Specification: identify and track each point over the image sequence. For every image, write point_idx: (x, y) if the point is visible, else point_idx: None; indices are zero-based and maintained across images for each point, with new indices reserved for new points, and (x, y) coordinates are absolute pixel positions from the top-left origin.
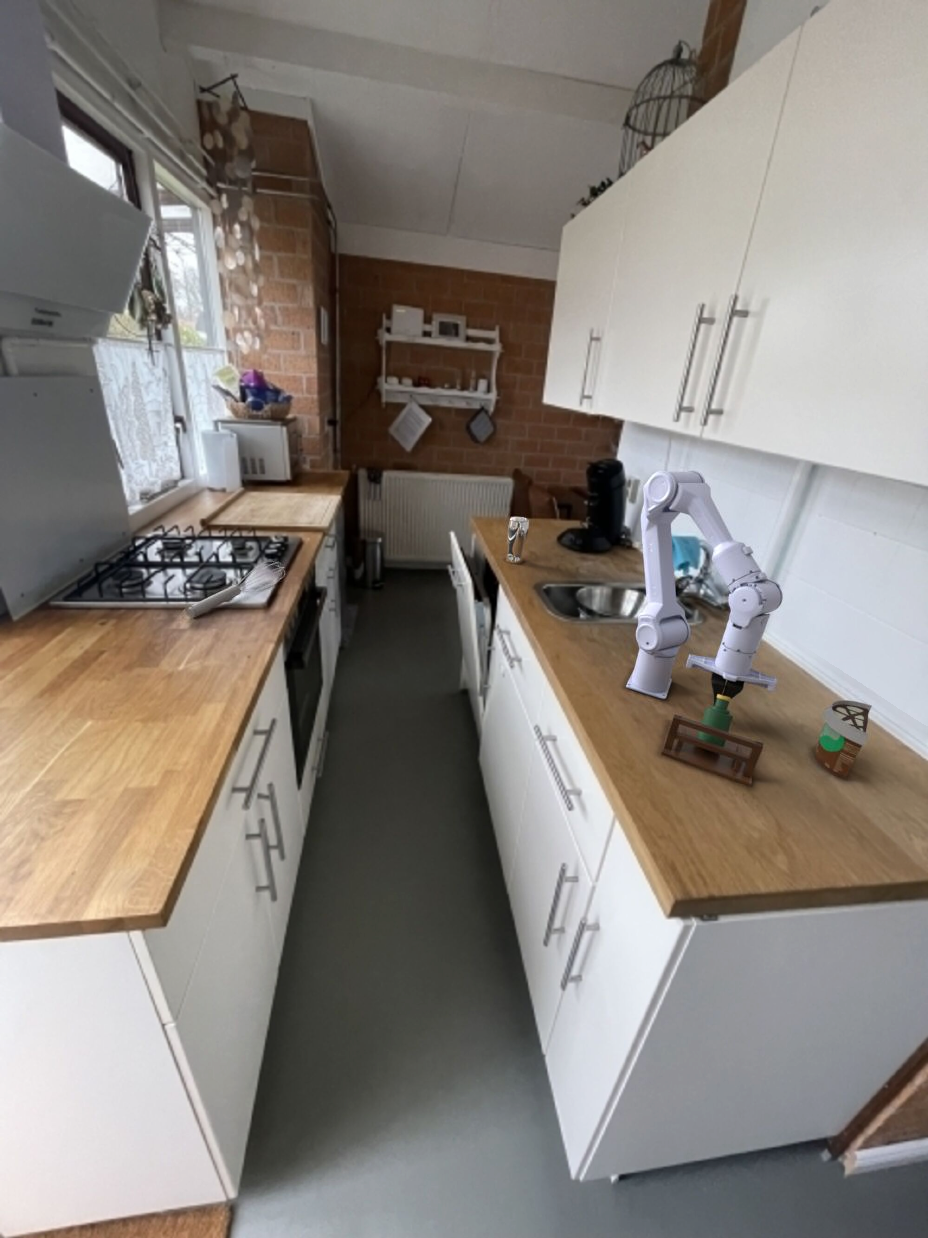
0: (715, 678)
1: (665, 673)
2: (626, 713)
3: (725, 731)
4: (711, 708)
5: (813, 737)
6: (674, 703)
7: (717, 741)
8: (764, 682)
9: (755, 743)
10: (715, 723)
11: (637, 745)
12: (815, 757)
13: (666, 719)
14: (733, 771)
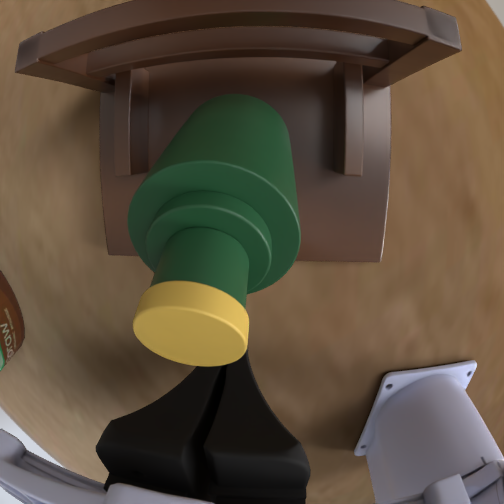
0: (279, 487)
1: (419, 442)
2: (491, 231)
3: (164, 13)
4: (267, 228)
5: (43, 376)
6: (356, 375)
7: (205, 106)
8: (10, 471)
9: (39, 37)
10: (224, 126)
11: (448, 66)
12: (15, 301)
13: (387, 272)
14: (149, 68)
